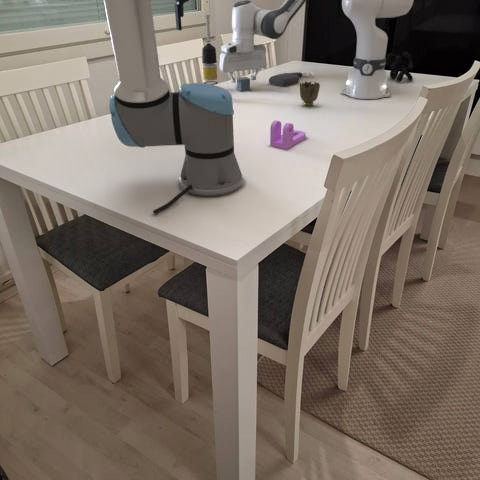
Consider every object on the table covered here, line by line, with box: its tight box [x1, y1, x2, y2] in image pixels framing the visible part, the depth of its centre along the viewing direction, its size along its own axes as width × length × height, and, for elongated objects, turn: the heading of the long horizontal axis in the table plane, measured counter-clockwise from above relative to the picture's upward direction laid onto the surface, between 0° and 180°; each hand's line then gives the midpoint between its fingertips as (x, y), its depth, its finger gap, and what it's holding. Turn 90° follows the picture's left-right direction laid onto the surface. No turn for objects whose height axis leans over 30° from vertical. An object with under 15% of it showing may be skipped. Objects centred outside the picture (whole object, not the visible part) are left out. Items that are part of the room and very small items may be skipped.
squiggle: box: [385, 51, 414, 83], centre depth 198 cm, size 11×10×15 cm
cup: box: [299, 81, 321, 107], centre depth 165 cm, size 8×7×8 cm
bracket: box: [269, 119, 306, 150], centre depth 133 cm, size 13×6×7 cm, turn 143°
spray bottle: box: [268, 70, 315, 87], centre depth 203 cm, size 3×11×24 cm
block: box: [236, 76, 251, 92], centre depth 189 cm, size 4×4×5 cm
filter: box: [201, 14, 219, 85], centre depth 171 cm, size 6×6×30 cm
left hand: (156, 31), depth 127 cm, fingers open, 13 cm apart
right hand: (243, 81), depth 189 cm, fingers open, 8 cm apart
